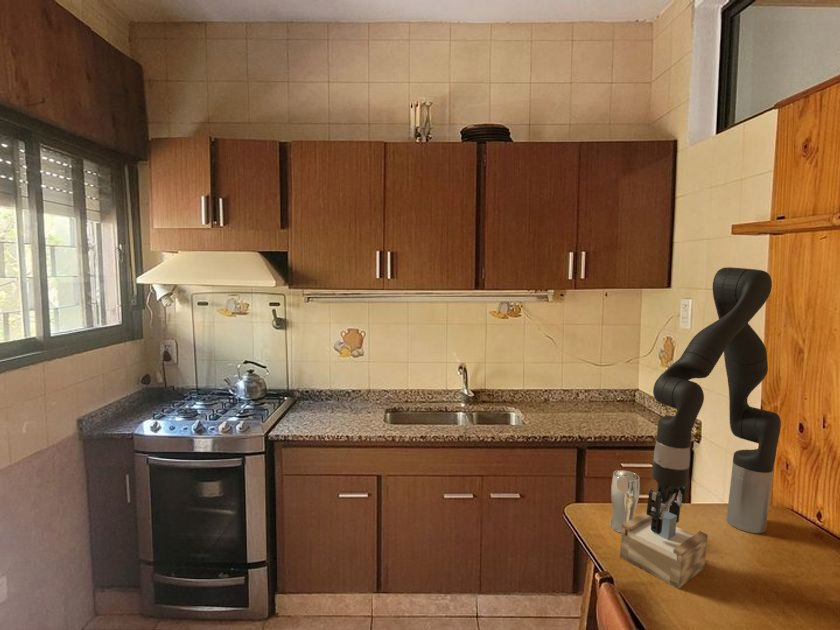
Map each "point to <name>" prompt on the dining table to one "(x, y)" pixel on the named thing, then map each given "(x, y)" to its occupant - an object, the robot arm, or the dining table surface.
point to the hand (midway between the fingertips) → (664, 526)
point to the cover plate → (658, 540)
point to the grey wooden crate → (659, 563)
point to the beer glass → (624, 497)
